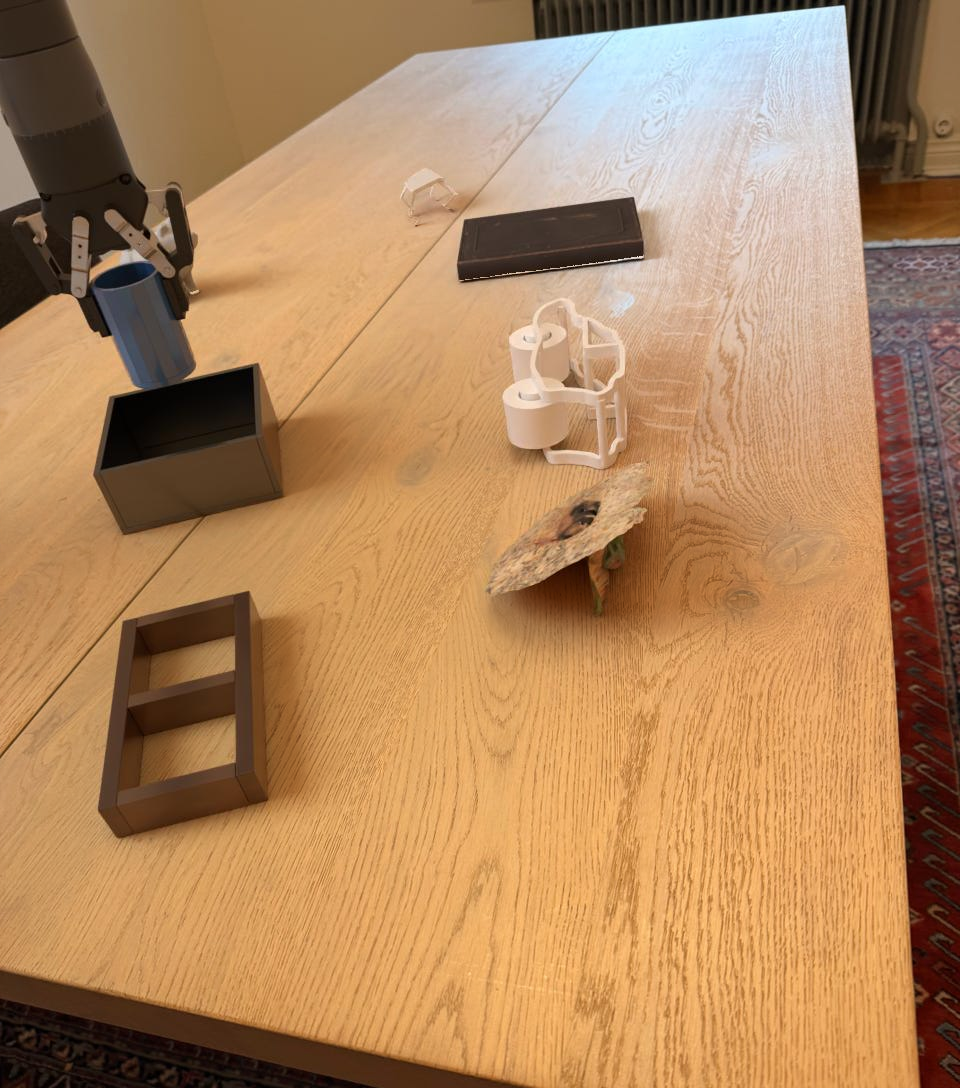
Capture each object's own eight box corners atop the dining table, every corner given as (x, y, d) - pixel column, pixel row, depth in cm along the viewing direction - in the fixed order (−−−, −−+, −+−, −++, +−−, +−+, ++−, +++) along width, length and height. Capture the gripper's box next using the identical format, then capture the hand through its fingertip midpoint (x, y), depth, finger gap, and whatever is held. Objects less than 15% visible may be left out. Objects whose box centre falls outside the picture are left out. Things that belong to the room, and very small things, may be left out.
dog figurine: (205, 308, 124) (176, 226, 117) (128, 306, 129) (95, 227, 122) (226, 290, 128) (199, 210, 121) (150, 289, 132) (120, 211, 125)
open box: (122, 535, 87) (92, 475, 82) (135, 453, 98) (109, 396, 94) (283, 497, 88) (262, 435, 83) (277, 419, 99) (258, 362, 94)
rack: (116, 838, 61) (96, 810, 59) (137, 648, 74) (122, 620, 72) (268, 800, 61) (254, 771, 59) (261, 618, 75) (249, 589, 73)
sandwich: (515, 592, 83) (481, 512, 80) (673, 535, 79) (644, 450, 77) (503, 676, 66) (460, 579, 63) (702, 608, 63) (666, 503, 60)
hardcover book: (466, 236, 130) (463, 219, 128) (634, 214, 126) (633, 196, 125) (459, 283, 118) (456, 265, 116) (644, 260, 115) (643, 241, 113)
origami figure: (463, 218, 135) (458, 182, 132) (406, 230, 135) (399, 194, 132) (454, 192, 144) (449, 158, 140) (401, 203, 144) (394, 169, 140)
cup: (129, 395, 83) (85, 296, 77) (134, 365, 87) (93, 270, 81) (195, 379, 83) (157, 280, 77) (197, 351, 88) (161, 255, 82)
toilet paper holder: (517, 370, 99) (509, 303, 94) (623, 360, 97) (620, 291, 92) (507, 477, 84) (496, 405, 80) (631, 467, 83) (628, 392, 78)
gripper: (155, 84, 74) (225, 291, 85) (-26, 122, 73) (68, 326, 85) (149, 106, 69) (225, 324, 80) (-47, 147, 68) (57, 362, 79)
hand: (144, 324), depth 82 cm, fingers closed on cup, 6 cm apart
